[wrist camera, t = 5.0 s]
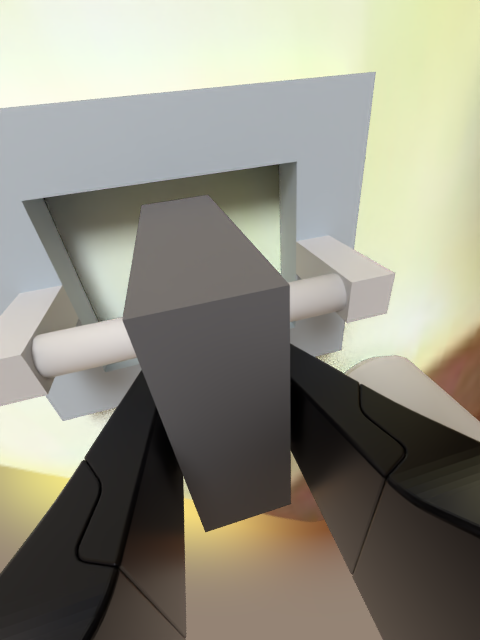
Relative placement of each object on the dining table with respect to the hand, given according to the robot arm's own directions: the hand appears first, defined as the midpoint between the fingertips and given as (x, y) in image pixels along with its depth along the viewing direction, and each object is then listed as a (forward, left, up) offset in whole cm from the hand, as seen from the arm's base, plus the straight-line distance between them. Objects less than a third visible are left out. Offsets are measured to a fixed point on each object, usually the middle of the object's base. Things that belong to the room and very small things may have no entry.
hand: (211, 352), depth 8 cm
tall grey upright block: (0, 0, -5) cm, 5 cm away
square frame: (0, 0, -7) cm, 7 cm away
